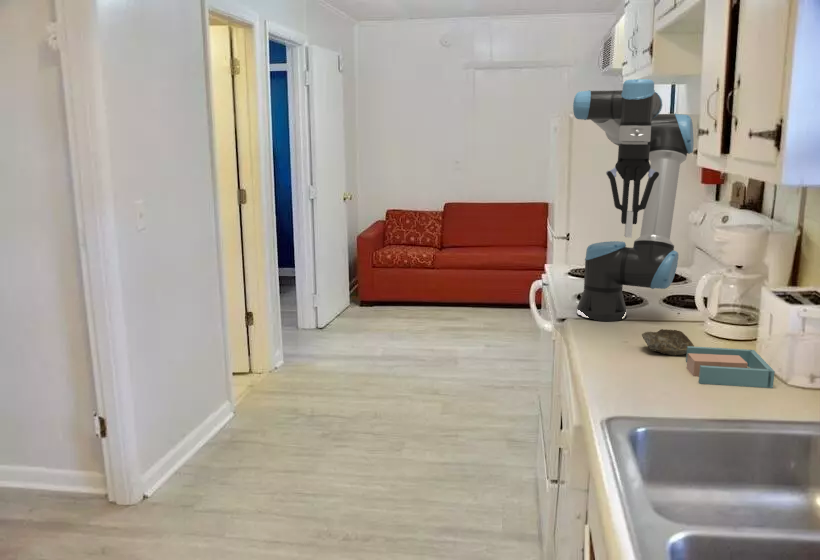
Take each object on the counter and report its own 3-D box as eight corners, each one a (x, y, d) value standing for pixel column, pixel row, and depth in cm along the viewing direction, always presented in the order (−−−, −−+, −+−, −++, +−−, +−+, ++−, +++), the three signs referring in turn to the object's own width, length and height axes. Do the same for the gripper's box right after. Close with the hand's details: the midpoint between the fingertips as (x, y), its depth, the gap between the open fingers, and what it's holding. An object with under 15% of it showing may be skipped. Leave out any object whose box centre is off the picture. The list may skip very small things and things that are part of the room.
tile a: (711, 370, 176) (713, 354, 175) (737, 371, 176) (739, 355, 175) (719, 378, 170) (721, 362, 170) (745, 379, 170) (747, 363, 169)
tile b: (686, 368, 177) (687, 353, 176) (711, 369, 176) (713, 354, 176) (693, 377, 171) (694, 361, 170) (719, 378, 171) (720, 362, 170)
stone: (650, 351, 184) (645, 322, 187) (640, 362, 191) (635, 334, 194) (698, 352, 184) (692, 323, 188) (686, 362, 191) (681, 334, 195)
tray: (685, 361, 182) (687, 346, 181) (752, 365, 179) (754, 349, 178) (699, 383, 166) (701, 367, 165) (772, 388, 164) (774, 371, 163)
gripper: (608, 143, 177) (603, 238, 182) (664, 143, 175) (656, 239, 180) (606, 142, 185) (600, 233, 190) (659, 143, 182) (652, 235, 187)
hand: (627, 236), depth 185 cm, fingers closed
